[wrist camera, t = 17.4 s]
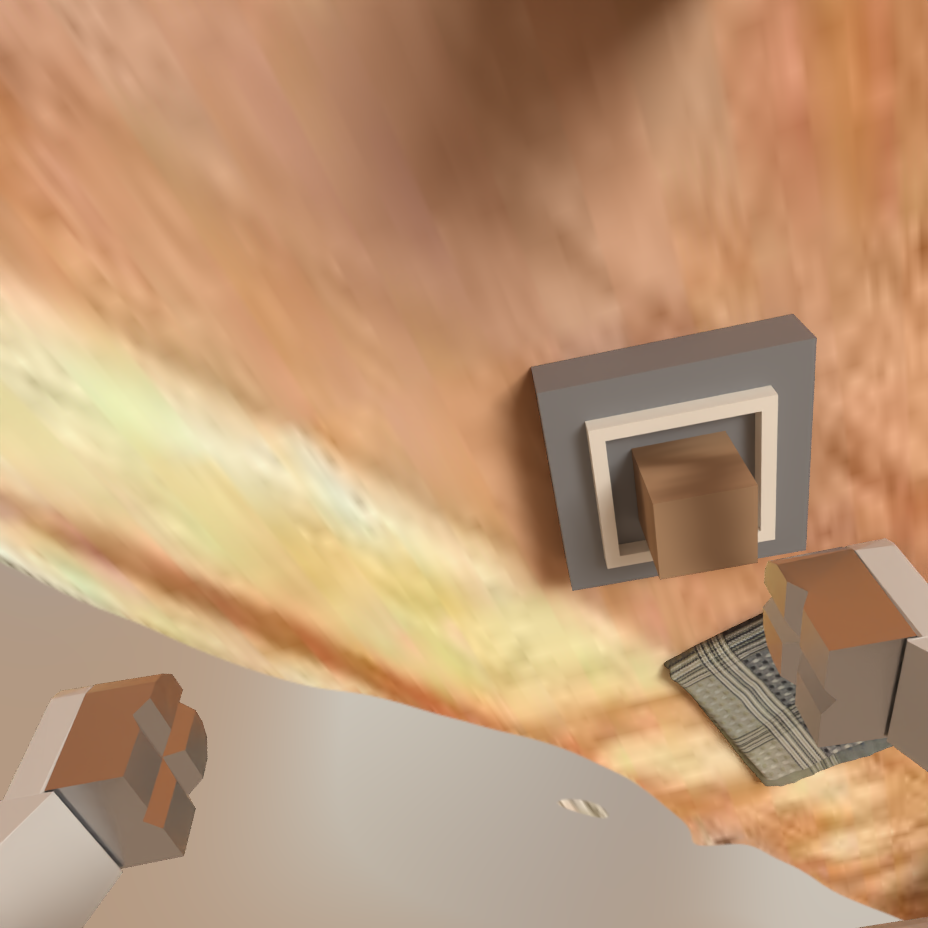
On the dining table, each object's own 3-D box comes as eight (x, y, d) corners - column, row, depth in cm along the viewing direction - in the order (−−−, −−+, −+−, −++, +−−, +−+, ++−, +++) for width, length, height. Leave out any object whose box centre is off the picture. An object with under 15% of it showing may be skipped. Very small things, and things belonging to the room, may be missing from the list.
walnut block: (638, 520, 44) (660, 579, 40) (631, 448, 41) (653, 504, 37) (726, 504, 43) (757, 562, 39) (725, 430, 41) (758, 485, 36)
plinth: (565, 558, 49) (574, 602, 46) (531, 367, 42) (539, 403, 38) (786, 519, 48) (812, 561, 45) (793, 313, 40) (825, 346, 37)
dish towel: (653, 656, 55) (664, 691, 53) (894, 537, 50) (920, 570, 47) (762, 776, 64) (776, 812, 61) (978, 686, 58) (1004, 721, 56)
